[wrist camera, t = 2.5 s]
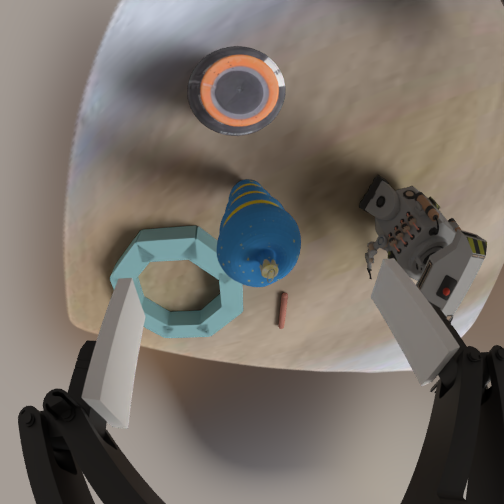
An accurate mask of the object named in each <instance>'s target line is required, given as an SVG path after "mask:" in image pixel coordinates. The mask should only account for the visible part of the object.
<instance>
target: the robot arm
mask: <svg viewBox="0 0 504 504" xmlns="http://www.w3.org/2000/svg"><path fill="white" fill-rule="evenodd" d="M501 2H502V4H503V6H504V0H501ZM371 298H372V299H373V301H374V303H375V304H376V306H377V308H378V309H379V311H380V313H381V314H382V316H383V318H384V319H385V321H386V323H387V324H388V326H389V328H390V330H391V331H392V333H393V335H394V337H395V338H396V340H397V342H398V344H399V345H400V347H401V349H402V351H403V353H404V355H405V356H406V358H407V360H408V362H409V364H410V366H411V368H412V370H413V371H414V373H415V375H416V377H417V379H418V381H419V383H420V385H421V386H423V385H425V384H428V383H430V382H432V381H433V380H434V379H435V378H436V376H437V375H439V377H440V380H439V381H438V382H437V383H436V384H435V385H434V386H433V387H432V388H431V392H432V391H433V390H434V389H435V388H436V387H437V389H436V391H435V393H436V394H435V399H434V404H433V409H432V413H431V417H430V422H429V426H428V429H427V433H426V437H425V440H424V444H423V447H422V450H421V453H420V456H419V459H418V462H417V465H416V468H415V471H414V473H413V476H412V479H411V481H410V484H409V486H408V489H407V491H406V493H405V496H404V498H403V500H402V502H401V504H504V348H502V347H501V346H498V345H496V346H493V347H492V349H491V350H490V351H489V352H482V353H480V352H479V351H478V350H477V349H476V348H474V347H471V346H468V347H467V346H466V345H465V343H464V342H463V340H462V339H461V337H460V336H459V334H458V333H457V331H456V330H455V329H454V327H453V326H451V323H450V322H449V320H447V317H446V316H445V315H444V313H443V312H442V311H441V310H440V309H439V308H438V307H436V306H435V305H432V306H431V304H430V303H429V302H428V300H427V299H426V298H425V296H424V295H423V294H422V292H421V291H420V290H419V289H418V287H417V286H416V285H415V283H414V282H413V281H412V280H411V278H410V277H409V276H408V275H407V273H406V272H405V271H404V270H403V269H402V267H401V266H400V265H399V264H398V263H397V261H396V260H395V259H394V258H391V259H383V262H382V265H381V268H380V271H379V274H378V277H377V280H376V283H375V286H374V289H373V292H372V295H371ZM144 322H145V314H144V311H143V309H142V306H141V303H140V300H139V297H138V294H137V291H136V288H135V285H134V282H133V279H132V278H120V279H118V281H117V284H116V286H115V289H114V291H113V294H112V297H111V300H110V302H109V305H108V308H107V311H106V314H105V317H104V319H103V322H102V325H101V329H100V332H99V335H98V338H97V341H86V343H85V344H84V345H83V346H82V348H81V349H80V352H79V355H78V358H77V362H76V365H75V369H74V372H73V375H72V379H71V382H70V386H69V390H68V393H67V392H66V391H64V390H62V389H54V390H51V391H50V392H49V393H47V394H46V396H45V398H44V402H43V409H44V411H39V410H37V409H36V408H35V407H33V406H26V407H24V408H23V409H22V410H21V411H20V413H19V416H18V425H19V432H20V439H21V445H22V451H23V456H24V461H25V465H26V469H27V473H28V477H29V481H30V485H31V488H32V492H33V495H34V498H35V501H36V504H95V503H94V501H93V499H92V496H91V494H90V491H89V489H88V486H87V484H86V481H85V478H84V476H83V474H84V475H85V477H86V478H87V480H88V482H89V483H90V485H91V486H92V488H93V489H94V491H95V492H96V494H97V495H98V496H99V498H100V499H101V501H102V502H103V503H104V504H165V503H164V502H163V501H162V499H161V498H160V497H159V496H158V495H157V494H156V493H155V492H154V491H153V490H152V488H151V487H150V486H149V485H148V484H147V483H146V482H145V480H144V479H143V478H142V477H141V476H140V474H139V473H138V472H137V471H136V470H135V468H134V467H133V466H132V464H131V463H130V462H129V461H128V459H127V458H126V456H125V455H124V454H123V453H122V451H121V450H120V448H119V447H118V445H117V444H116V443H115V441H114V440H113V438H112V437H111V435H110V434H109V432H108V431H107V430H106V423H109V424H110V425H111V426H112V427H118V428H126V429H128V426H129V416H130V407H131V399H132V391H133V384H134V377H135V371H136V365H137V359H138V353H139V347H140V342H141V337H142V332H143V327H144ZM490 381H491V385H492V386H491V387H490V388H489V389H488V387H487V384H488V383H489V382H490ZM82 472H83V473H82ZM467 480H468V485H467V494H466V500H465V499H464V498H463V494H464V490H465V487H466V483H467Z"/></svg>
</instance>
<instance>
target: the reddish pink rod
mask: <svg viewBox="0 0 504 504" xmlns="http://www.w3.org/2000/svg"><path fill="white" fill-rule="evenodd" d="M287 299H288V294H287V293H283V294H282V297H281V307H280V316H279V326H278V327H279V328H280V329H283V328H284V323H285V315H286V307H287Z"/></svg>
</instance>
